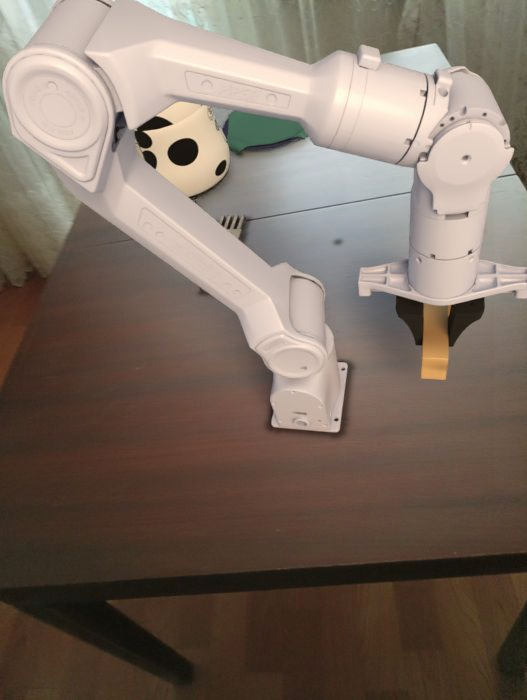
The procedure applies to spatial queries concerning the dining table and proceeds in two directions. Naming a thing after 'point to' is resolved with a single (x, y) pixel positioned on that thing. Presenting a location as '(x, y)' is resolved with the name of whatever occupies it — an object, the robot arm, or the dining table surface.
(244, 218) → the grey-brown pronged block
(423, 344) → the disc with handle bar
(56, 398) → the dining table surface
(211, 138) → the milk container
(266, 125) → the cutlery set
